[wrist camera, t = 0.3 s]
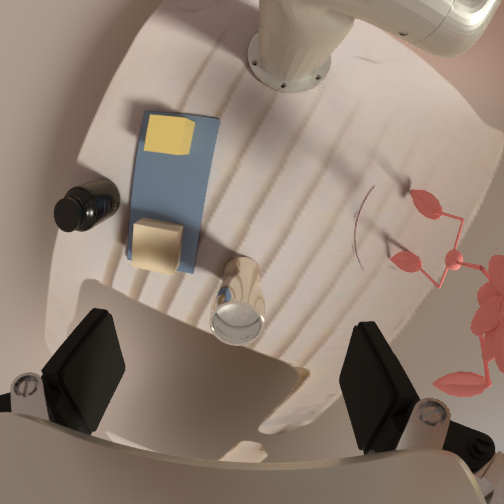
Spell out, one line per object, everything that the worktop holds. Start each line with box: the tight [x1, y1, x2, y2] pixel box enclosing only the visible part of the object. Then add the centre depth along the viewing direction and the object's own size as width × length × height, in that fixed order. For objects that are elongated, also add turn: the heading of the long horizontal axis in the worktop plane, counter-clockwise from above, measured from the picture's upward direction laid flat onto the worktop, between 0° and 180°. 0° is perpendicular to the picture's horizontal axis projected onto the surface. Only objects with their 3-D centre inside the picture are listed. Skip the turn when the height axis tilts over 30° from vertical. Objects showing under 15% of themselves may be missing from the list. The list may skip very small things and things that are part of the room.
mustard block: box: [144, 114, 195, 155], centre depth 36 cm, size 5×5×6 cm
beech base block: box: [132, 217, 184, 275], centre depth 43 cm, size 7×7×4 cm
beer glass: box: [210, 256, 265, 346], centre depth 40 cm, size 7×7×15 cm
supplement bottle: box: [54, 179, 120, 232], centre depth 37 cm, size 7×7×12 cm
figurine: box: [353, 189, 504, 397], centre depth 27 cm, size 15×26×35 cm, turn 165°
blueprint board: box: [127, 111, 220, 274], centre depth 42 cm, size 25×12×1 cm, turn 168°
